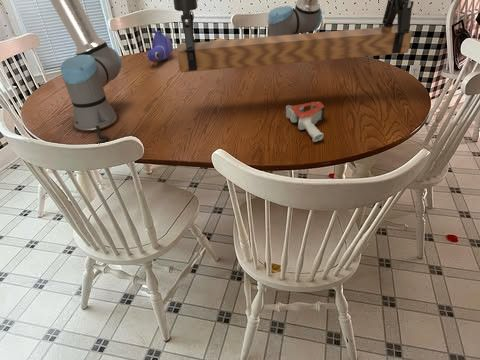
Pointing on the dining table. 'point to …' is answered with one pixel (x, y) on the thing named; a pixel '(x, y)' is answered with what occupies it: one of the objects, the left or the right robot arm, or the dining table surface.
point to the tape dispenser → (307, 118)
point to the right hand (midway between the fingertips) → (390, 48)
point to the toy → (160, 47)
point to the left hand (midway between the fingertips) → (193, 65)
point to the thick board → (292, 48)
